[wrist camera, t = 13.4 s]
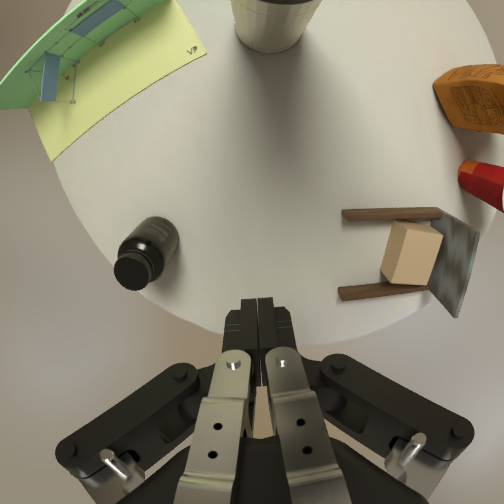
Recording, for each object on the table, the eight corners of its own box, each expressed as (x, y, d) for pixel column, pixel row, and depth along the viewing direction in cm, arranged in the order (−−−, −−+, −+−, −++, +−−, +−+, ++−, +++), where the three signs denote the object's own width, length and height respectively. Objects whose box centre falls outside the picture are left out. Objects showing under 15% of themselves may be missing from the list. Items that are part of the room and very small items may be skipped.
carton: (393, 218, 42) (407, 229, 38) (427, 224, 43) (443, 235, 38) (379, 268, 46) (390, 283, 41) (413, 271, 46) (426, 285, 42)
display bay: (341, 209, 42) (371, 239, 31) (436, 207, 41) (480, 232, 30) (337, 291, 47) (358, 337, 36) (424, 280, 47) (457, 317, 36)
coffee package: (488, 113, 33) (580, 129, 13) (447, 133, 36) (550, 156, 16) (469, 62, 30) (562, 56, 10) (425, 77, 32) (528, 66, 12)
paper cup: (474, 201, 40) (525, 228, 28) (448, 188, 40) (502, 214, 27) (485, 163, 37) (539, 181, 25) (459, 146, 37) (517, 161, 24)
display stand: (172, -4, 28) (147, -41, 17) (207, 53, 32) (190, 25, 21) (28, 106, 33) (-20, 109, 22) (52, 161, 38) (4, 177, 26)
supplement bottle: (130, 226, 42) (96, 259, 31) (166, 207, 41) (137, 237, 30) (151, 262, 45) (125, 304, 34) (187, 246, 44) (168, 287, 33)
